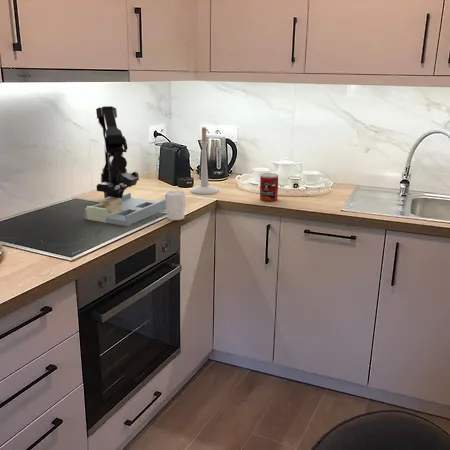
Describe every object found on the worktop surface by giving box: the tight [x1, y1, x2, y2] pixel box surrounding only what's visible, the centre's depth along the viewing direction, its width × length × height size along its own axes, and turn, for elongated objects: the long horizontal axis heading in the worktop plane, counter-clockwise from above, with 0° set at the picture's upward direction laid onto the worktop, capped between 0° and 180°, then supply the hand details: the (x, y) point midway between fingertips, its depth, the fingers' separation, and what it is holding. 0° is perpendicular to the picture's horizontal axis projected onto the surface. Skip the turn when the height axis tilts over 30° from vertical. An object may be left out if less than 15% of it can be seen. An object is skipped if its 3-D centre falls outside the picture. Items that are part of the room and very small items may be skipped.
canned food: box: [259, 172, 279, 202], centre depth 221 cm, size 8×8×11 cm
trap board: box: [84, 192, 166, 227], centre depth 202 cm, size 20×28×5 cm
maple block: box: [98, 197, 122, 213], centre depth 198 cm, size 6×6×4 cm
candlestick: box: [190, 126, 219, 196], centre depth 232 cm, size 13×13×30 cm
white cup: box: [164, 189, 186, 221], centre depth 195 cm, size 8×8×10 cm
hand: (118, 204), depth 203 cm, fingers closed
